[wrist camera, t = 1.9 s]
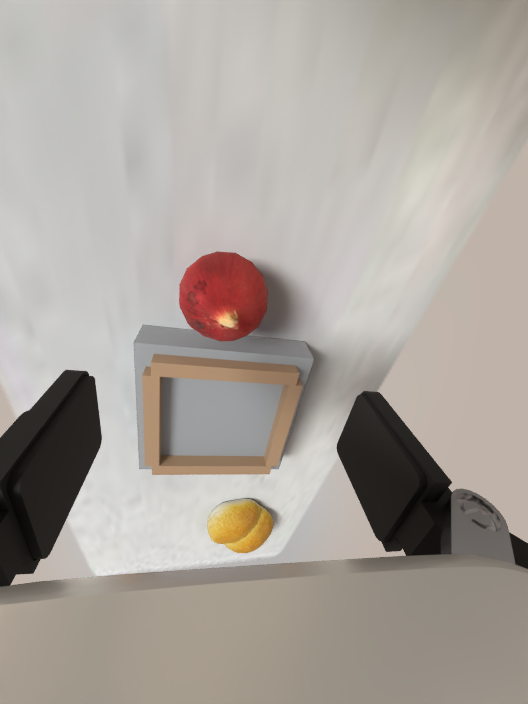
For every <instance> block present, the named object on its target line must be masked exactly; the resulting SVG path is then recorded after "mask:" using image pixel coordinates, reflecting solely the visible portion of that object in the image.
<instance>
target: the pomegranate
mask: <svg viewBox="0 0 528 704" xmlns="http://www.w3.org/2000/svg"><path fill="white" fill-rule="evenodd" d="M267 296H268V291H267V288H266V285H265V282H264V278H263V276H262V275H261V273H260V272H259V271H258V269H257V268H256V267H255V266H254V264H253V263H252V262H251V261H249V260H247V259H245V258H243V257H242V256H240V255H238V254H236V253H228V252H215V253H211V254H208V255H205V256H202V257H201V258H199V259H198V260H197V261H196V262H195V263H193V264H192V265H191V266H190V267H188V268H187V270H186V272H185V274H184V276H183V278H182V281H181V283H180V296H179V303H180V308H181V310H182V312H183V314H184V316H185V318H186V321H187V323H188V324H189V325H190V327H192V328H193V329H194V330H196V331H197V332H199V333H200V334H201V335H203V336H204V337H208V338H211V339H214V340H217V341H235V340H237V339H240V338H242V337H245V336H247V335H248V334H249V333H251V332H252V331H253V330H255V329H256V328H257V327H258V326H259V324H260V322H261V321H262V319H263V317H264V315H265V313H266V309H267Z"/></svg>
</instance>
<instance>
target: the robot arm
mask: <svg viewBox="0 0 528 704" xmlns="http://www.w3.org/2000/svg"><path fill="white" fill-rule="evenodd" d="M101 440H102V436H101V427H100V419H99V410H98V402H97V393H96V385H95V378H94V377H93V376H89V374H88V372H86V371H75V370H65V371H64V372H63V373H62V374H61V375H60V376H59V377H58V379H57V380H56V381H55V382H54V383H53V384H52V385H51V387H50V388H49V389H48V390H47V391H46V392H45V393H44V395H43V396H42V397H41V398H40V399H39V400H38V401H37V403H36V404H35V405H34V406H33V407H32V408H31V409H30V411H26V412H24V413H23V414H22V415H21V416H19V418H18V419H17V420H16V421H15V422H14V423H13V425H12V426H11V427H10V428H9V429H8V430H7V431H6V432H5V433H4V434H3V436H2V437H1V438H0V704H528V543H526V542H524V541H523V540H521V539H520V538H518V537H516V536H515V535H513V534H511V533H509V530H508V526H507V523H506V521H505V519H504V517H503V516H502V515H501V513H500V512H499V511H498V510H497V509H496V508H495V507H494V506H493V505H492V504H491V503H490V502H489V501H487V500H486V499H485V498H483V497H482V496H480V495H478V494H477V493H474V492H472V491H469V490H466V489H456V490H454V491H453V492H451V491H450V489H449V488H448V487H449V486H450V484H451V483H452V482H451V480H450V479H449V478H448V477H447V476H446V474H445V473H444V472H443V471H442V469H441V468H440V467H439V466H438V464H437V463H436V462H435V461H434V459H433V458H432V457H431V456H430V455H429V453H428V452H427V451H426V450H425V448H424V447H423V446H422V445H421V443H420V442H419V441H418V440H417V438H416V437H415V436H414V435H413V434H412V432H411V431H410V430H409V428H408V427H407V426H406V425H405V423H404V422H403V421H402V420H401V418H400V417H399V416H398V415H397V413H396V412H395V411H394V410H393V408H392V407H391V406H390V405H389V403H388V402H387V401H386V400H385V399H384V397H383V396H382V395H381V394H380V393H379V392H369V391H364V392H362V393H361V395H358V396H357V398H356V400H355V403H354V405H353V407H352V410H351V412H350V415H349V417H348V419H347V422H346V424H345V427H344V429H343V431H342V434H341V436H340V438H339V441H338V443H337V452H338V455H339V457H340V459H341V461H342V463H343V466H344V468H345V470H346V472H347V475H348V477H349V479H350V481H351V483H352V486H353V488H354V490H355V492H356V494H357V496H358V499H359V501H360V503H361V505H362V508H363V510H364V512H365V514H366V516H367V519H368V521H369V523H370V525H371V527H372V529H373V532H374V534H375V536H376V538H377V539H378V540H379V541H381V542H382V544H383V546H384V548H385V551H386V552H390V551H401V550H402V548H403V550H404V552H405V554H406V556H397V557H380V558H363V559H346V560H329V561H314V562H299V563H282V564H267V565H251V566H236V567H222V568H207V569H193V570H179V571H164V572H150V573H136V574H122V575H109V576H98V577H87V578H75V579H64V580H53V581H41V582H33V583H26V584H18V585H11V583H12V581H13V579H14V577H15V575H16V574H32V573H34V571H35V569H36V567H37V565H38V563H39V561H40V559H45V558H47V557H48V555H49V554H50V552H51V550H52V548H53V546H54V544H55V542H56V540H57V538H58V536H59V533H60V531H61V529H62V527H63V525H64V523H65V521H66V519H67V516H68V514H69V512H70V510H71V508H72V506H73V504H74V502H75V499H76V497H77V495H78V493H79V491H80V489H81V487H82V485H83V482H84V480H85V478H86V476H87V474H88V472H89V470H90V468H91V465H92V463H93V461H94V459H95V457H96V455H97V453H98V451H99V448H100V445H101Z"/></svg>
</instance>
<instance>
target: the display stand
mask: <svg viewBox="0 0 528 704" xmlns="http://www.w3.org/2000/svg"><path fill="white" fill-rule="evenodd" d="M313 361H314V357H313V356H312V354H311V352H310V350H309V348H308V347H307V345H306V343H305V342H304V341H295V340H285V339H275V338H266V337H256V336H245V337H242V338H240V339H237V340H235V341H217V340H214V339H211V338H208V337H204V336H203V335H201V334H200V333H199V332H197V331H196V330H188V329H178V328H168V327H159V326H149V325H143V326H142V328H141V330H140V331H139V333H138V335H137V337H136V339H135V341H134V362H135V384H136V406H137V428H138V450H139V469H152V475H189V474H270V470H271V469H279V467H280V464H281V461H282V458H283V455H284V451H285V448H286V445H287V442H288V439H289V436H290V433H291V430H292V426H293V423H294V420H295V417H296V414H297V411H298V408H299V405H300V402H301V398H302V395H303V392H304V389H305V386H306V383H307V380H308V377H309V373H310V370H311V367H312V364H313Z"/></svg>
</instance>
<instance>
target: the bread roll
mask: <svg viewBox="0 0 528 704" xmlns="http://www.w3.org/2000/svg"><path fill="white" fill-rule="evenodd" d="M272 528H273V519H272V517H271V515H270V513H269V512H268V511H267V510H266V509H265V508H263V507H262V506H260V505H259V504H258V503H257V502H255V501H254V500H252V499H237V500H232V501H227V502H224V503H222V504H220V505H218V506H217V507H216V508H215V509H214V510H213V511H212V512H211V514H210V516H209V518H208V524H207V529H208V533H209V536H210V538H211V539H212V540H213V541H214V542H216V543H219V544H224V545H225V546H226V547H227V548H229V549H230V550H232V551H234V552H237V553H248V552H251V551H254V550H256V549H258V548H259V547H260V546H261V545H262V544H263V543H264V542H265V541H266V540H267V538H268V537H269V536H270V534H271V531H272Z"/></svg>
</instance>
